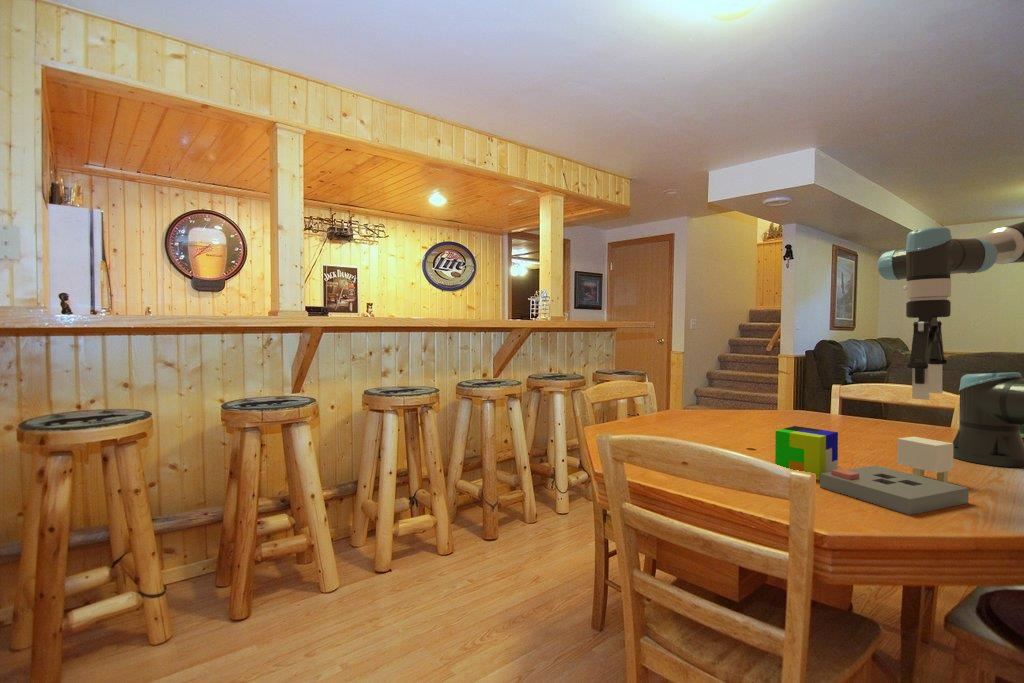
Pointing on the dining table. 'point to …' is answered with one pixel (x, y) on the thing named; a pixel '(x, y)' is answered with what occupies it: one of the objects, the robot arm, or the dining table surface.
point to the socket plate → (894, 489)
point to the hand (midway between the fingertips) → (927, 396)
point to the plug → (926, 456)
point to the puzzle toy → (807, 449)
